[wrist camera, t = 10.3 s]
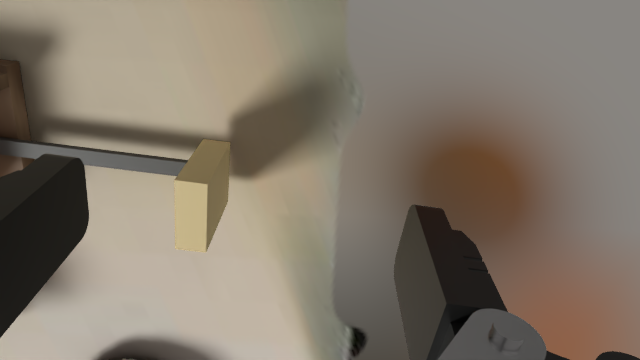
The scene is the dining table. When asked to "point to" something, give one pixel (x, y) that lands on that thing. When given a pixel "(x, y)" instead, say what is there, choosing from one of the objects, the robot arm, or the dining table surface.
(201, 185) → the multicoloured piece
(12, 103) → the wooden lane
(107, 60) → the dining table surface
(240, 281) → the dining table surface
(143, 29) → the dining table surface
